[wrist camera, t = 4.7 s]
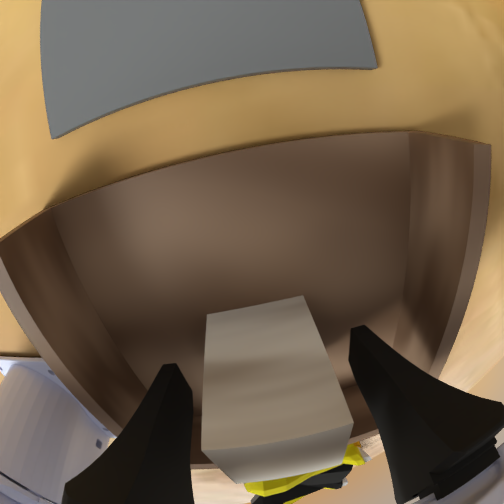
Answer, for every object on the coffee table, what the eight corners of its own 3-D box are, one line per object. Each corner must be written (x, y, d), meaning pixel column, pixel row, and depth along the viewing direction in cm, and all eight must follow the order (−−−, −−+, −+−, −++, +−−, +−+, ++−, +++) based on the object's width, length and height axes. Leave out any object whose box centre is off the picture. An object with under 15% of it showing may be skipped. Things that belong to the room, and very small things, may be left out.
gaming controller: (249, 477, 23) (333, 464, 24) (253, 516, 18) (343, 501, 19) (237, 426, 17) (368, 403, 17) (242, 493, 12) (392, 460, 12)
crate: (392, 373, 15) (416, 417, 12) (162, 419, 15) (157, 468, 12) (419, 131, 9) (490, 145, 5) (41, 211, 9) (-18, 252, 5)
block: (308, 358, 13) (341, 463, 7) (229, 373, 13) (236, 483, 7) (302, 295, 11) (353, 422, 6) (207, 314, 11) (201, 450, 6)
